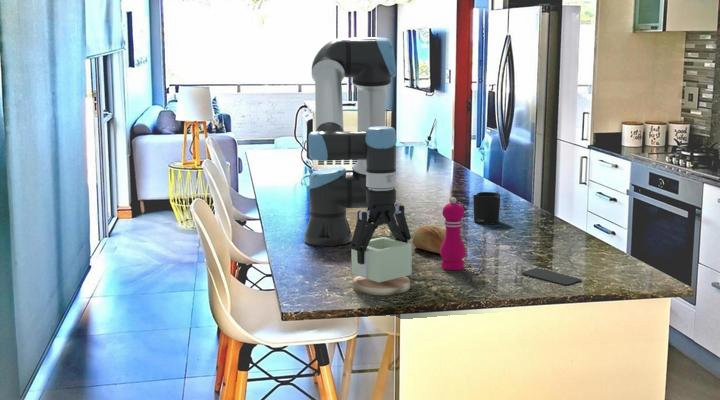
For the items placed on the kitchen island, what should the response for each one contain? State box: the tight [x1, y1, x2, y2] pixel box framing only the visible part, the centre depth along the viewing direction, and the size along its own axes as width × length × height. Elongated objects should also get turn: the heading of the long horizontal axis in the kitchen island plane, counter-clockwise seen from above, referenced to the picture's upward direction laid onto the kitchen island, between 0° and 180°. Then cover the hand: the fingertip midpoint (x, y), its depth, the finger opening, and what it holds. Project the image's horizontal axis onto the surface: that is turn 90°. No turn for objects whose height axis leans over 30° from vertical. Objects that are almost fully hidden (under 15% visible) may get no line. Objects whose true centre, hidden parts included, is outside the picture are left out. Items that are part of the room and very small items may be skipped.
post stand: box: [352, 275, 411, 296], centre depth 204 cm, size 15×15×8 cm
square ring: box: [350, 236, 413, 283], centre depth 203 cm, size 11×11×8 cm
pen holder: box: [472, 191, 501, 225], centre depth 278 cm, size 9×9×10 cm
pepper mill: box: [439, 197, 466, 271], centre depth 220 cm, size 7×7×20 cm
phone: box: [521, 267, 582, 287], centre depth 211 cm, size 7×1×15 cm
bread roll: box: [412, 224, 446, 255], centre depth 239 cm, size 10×15×8 cm, turn 37°
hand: (381, 271), depth 204 cm, fingers closed on square ring, 11 cm apart
